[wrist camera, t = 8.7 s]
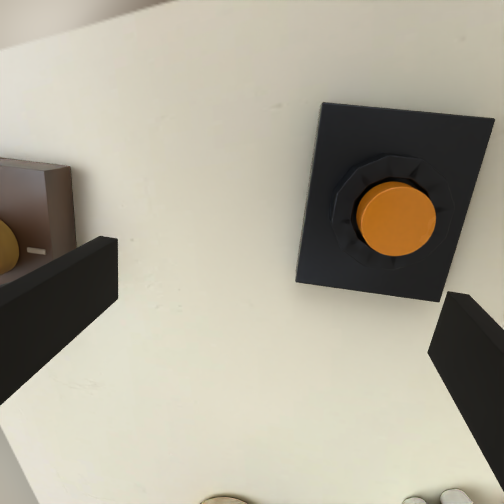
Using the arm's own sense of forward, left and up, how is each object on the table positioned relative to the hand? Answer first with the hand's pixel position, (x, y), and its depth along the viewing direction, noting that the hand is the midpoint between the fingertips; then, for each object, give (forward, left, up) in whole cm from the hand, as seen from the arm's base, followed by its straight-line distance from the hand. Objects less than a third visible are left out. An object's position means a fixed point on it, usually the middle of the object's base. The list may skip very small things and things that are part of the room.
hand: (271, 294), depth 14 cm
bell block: (-2, +6, -13) cm, 15 cm away
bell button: (-2, +6, -9) cm, 11 cm away
